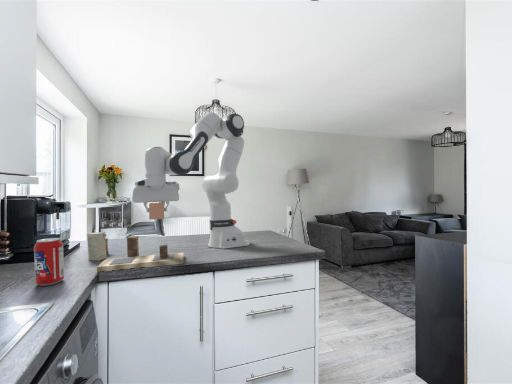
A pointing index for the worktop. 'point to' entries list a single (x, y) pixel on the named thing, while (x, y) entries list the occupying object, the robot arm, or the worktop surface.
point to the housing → (156, 211)
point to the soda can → (48, 261)
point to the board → (145, 261)
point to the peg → (132, 246)
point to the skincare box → (96, 246)
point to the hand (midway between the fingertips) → (157, 211)
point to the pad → (122, 260)
